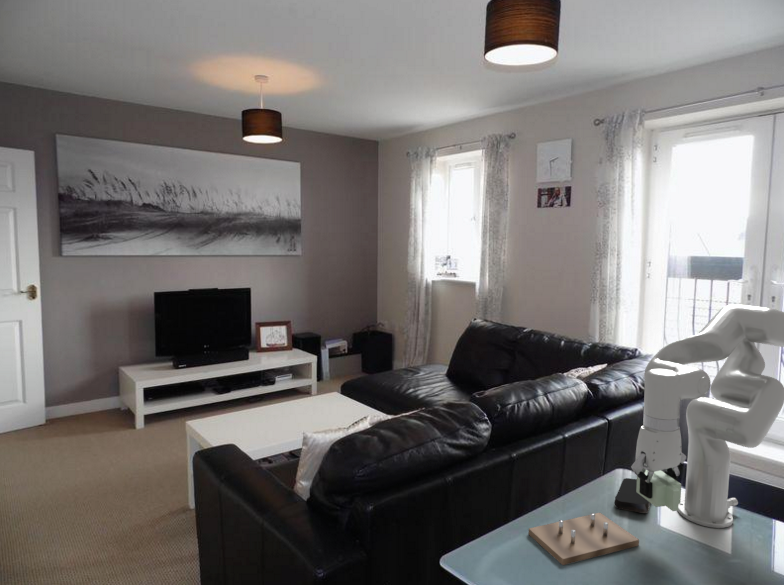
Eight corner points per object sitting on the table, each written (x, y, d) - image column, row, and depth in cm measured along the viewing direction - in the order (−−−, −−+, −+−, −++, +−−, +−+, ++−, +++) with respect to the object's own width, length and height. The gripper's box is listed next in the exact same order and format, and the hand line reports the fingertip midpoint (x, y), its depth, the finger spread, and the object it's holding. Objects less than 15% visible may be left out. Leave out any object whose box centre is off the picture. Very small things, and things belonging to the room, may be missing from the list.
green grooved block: (630, 487, 131) (630, 468, 131) (653, 484, 132) (653, 465, 132) (663, 512, 120) (664, 492, 119) (687, 509, 121) (688, 488, 120)
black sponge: (647, 519, 137) (648, 506, 136) (612, 510, 141) (613, 497, 141) (654, 493, 150) (655, 481, 150) (622, 486, 155) (623, 474, 155)
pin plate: (599, 517, 137) (600, 501, 136) (638, 545, 125) (639, 527, 124) (528, 534, 129) (529, 516, 129) (562, 565, 117) (563, 546, 116)
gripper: (675, 411, 130) (671, 478, 132) (620, 421, 124) (617, 492, 126) (702, 421, 123) (698, 492, 125) (645, 433, 117) (642, 507, 119)
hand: (657, 492), depth 126 cm, fingers closed on green grooved block, 7 cm apart
